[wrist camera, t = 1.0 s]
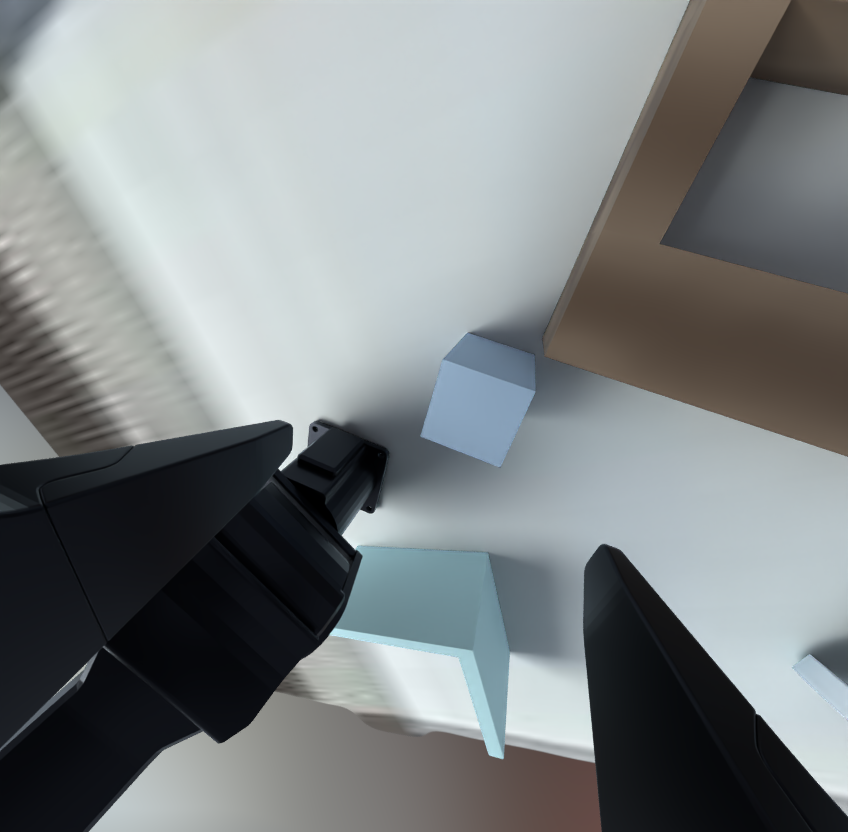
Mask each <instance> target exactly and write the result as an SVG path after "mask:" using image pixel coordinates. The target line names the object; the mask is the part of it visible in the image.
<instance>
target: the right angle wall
mask: <svg viewBox="0 0 848 832" xmlns="http://www.w3.org/2000/svg"><path fill="white" fill-rule="evenodd" d="M355 550H358V551H359V552H360V553H361V554H362V555H363V557H362V560H361V563H360V566H359V570H358V573H357V576H356V579H355V582H354V585H353V588H352V591H351V594H350V597H349V600H348V603H347V606H346V608H345V611H344V613H343V615H342V617H341V619H340V620H339V622H338V623H337V625H336V626H335V628H334V629H333V631H332V632H331V633H330V635H333V636H338V637H344V638H350V639H356V640H361V641H367V642H373V643H379V644H384V645H390V646H396V647H402V648H407V649H413V650H419V651H425V652H430V653H436V654H442V655H448V656H453V657H459V661H460V664H461V667H462V670H463V673H464V677H465V680H466V683H467V686H468V689H469V693H470V696H471V699H472V702H473V706H474V709H475V712H476V715H477V718H478V722H479V725H480V728H481V731H482V734H483V738H484V741H485V744H486V747H487V750H488V754H489V755H490V756H494V757H497V758H501V759H503V758H504V744H505V726H506V709H507V692H508V675H509V658H510V650H509V645H508V641H507V636H506V632H505V627H504V623H503V618H502V614H501V609H500V605H499V600H498V596H497V591H496V587H495V582H494V577H493V573H492V568H491V564H490V559H489V555H488V552H471V551H451V550H431V549H412V548H392V547H372V546H357V548H356V549H355Z"/></svg>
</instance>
